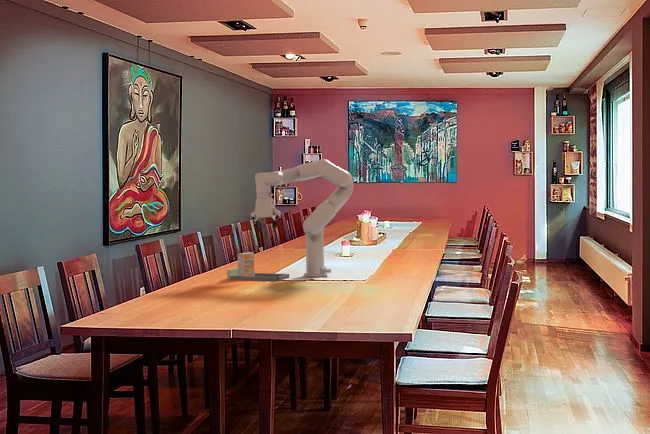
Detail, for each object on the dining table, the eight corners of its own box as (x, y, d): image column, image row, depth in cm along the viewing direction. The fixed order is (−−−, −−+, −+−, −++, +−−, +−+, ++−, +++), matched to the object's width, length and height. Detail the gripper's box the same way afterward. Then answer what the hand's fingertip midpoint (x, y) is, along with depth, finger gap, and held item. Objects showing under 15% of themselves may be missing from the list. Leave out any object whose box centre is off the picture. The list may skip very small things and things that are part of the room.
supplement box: (244, 279, 406) (243, 253, 405) (237, 278, 409) (237, 253, 408) (255, 276, 412) (254, 252, 412) (248, 276, 415) (247, 251, 414)
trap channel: (289, 277, 408) (288, 268, 408) (278, 281, 396) (278, 271, 396) (239, 276, 419) (238, 266, 419) (227, 279, 407) (227, 270, 407)
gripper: (281, 194, 413) (284, 226, 414) (252, 196, 419) (255, 228, 420) (276, 195, 406) (278, 228, 407) (246, 197, 412) (249, 229, 413)
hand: (266, 228), depth 414 cm, fingers open, 9 cm apart
